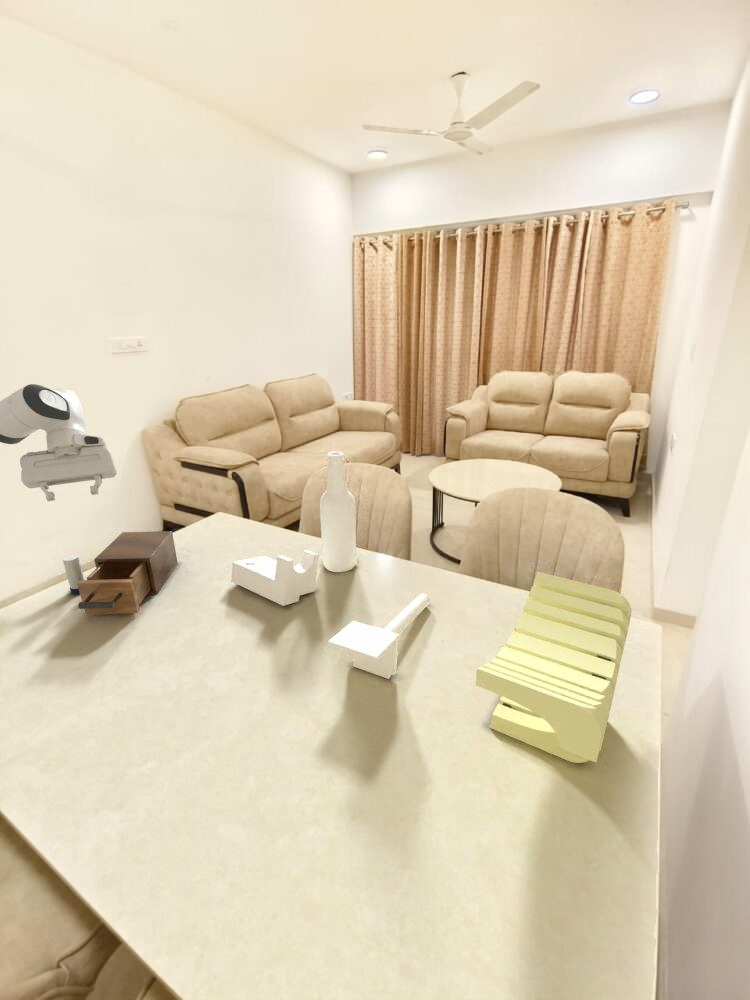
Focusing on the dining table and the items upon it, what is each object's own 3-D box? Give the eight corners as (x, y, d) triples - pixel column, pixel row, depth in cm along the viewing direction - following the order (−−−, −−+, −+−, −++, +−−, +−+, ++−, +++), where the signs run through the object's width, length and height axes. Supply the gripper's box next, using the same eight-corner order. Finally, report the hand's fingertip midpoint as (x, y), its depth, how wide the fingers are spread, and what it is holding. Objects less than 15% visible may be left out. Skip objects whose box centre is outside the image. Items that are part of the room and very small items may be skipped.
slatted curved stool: (584, 821, 65) (606, 715, 59) (469, 766, 73) (476, 668, 66) (617, 681, 89) (635, 595, 82) (527, 652, 97) (537, 571, 90)
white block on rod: (328, 641, 85) (406, 576, 113) (327, 685, 87) (404, 611, 115) (376, 657, 81) (445, 586, 108) (374, 703, 83) (442, 622, 111)
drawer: (127, 626, 105) (120, 594, 102) (72, 627, 104) (63, 595, 102) (160, 580, 122) (155, 552, 119) (113, 582, 122) (106, 553, 119)
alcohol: (351, 574, 125) (347, 459, 114) (318, 571, 127) (311, 457, 116) (360, 558, 133) (358, 449, 122) (329, 555, 135) (323, 447, 124)
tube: (68, 594, 118) (59, 561, 115) (75, 587, 121) (67, 554, 118) (82, 594, 118) (73, 560, 115) (90, 587, 121) (81, 554, 118)
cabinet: (156, 594, 118) (149, 558, 114) (102, 595, 118) (94, 559, 114) (178, 564, 131) (172, 531, 128) (129, 565, 131) (122, 532, 128)
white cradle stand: (313, 596, 118) (318, 554, 117) (283, 605, 110) (288, 560, 109) (262, 574, 128) (266, 535, 127) (231, 581, 120) (235, 539, 119)
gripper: (15, 447, 120) (18, 498, 115) (109, 437, 127) (116, 484, 123) (23, 460, 125) (27, 509, 120) (114, 449, 133) (120, 495, 128)
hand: (73, 496), depth 122 cm, fingers open, 8 cm apart
